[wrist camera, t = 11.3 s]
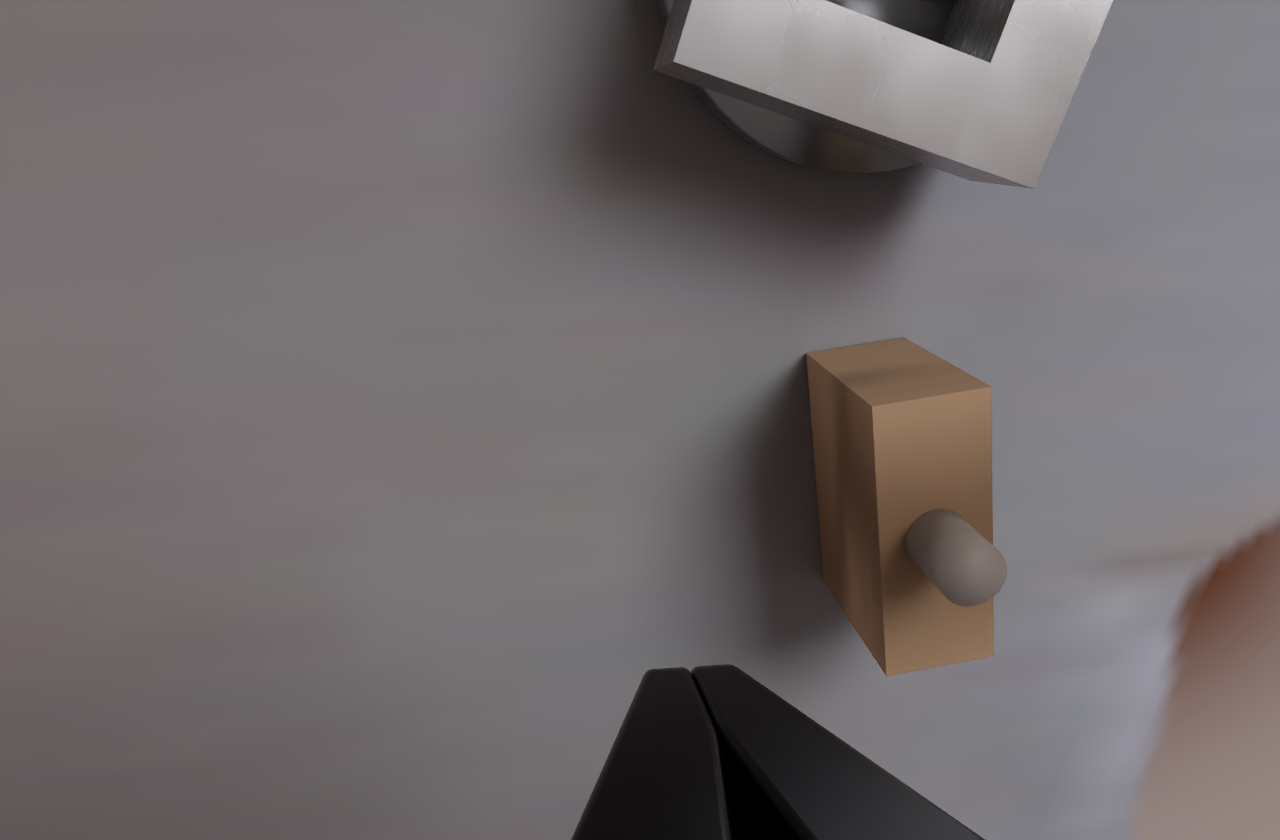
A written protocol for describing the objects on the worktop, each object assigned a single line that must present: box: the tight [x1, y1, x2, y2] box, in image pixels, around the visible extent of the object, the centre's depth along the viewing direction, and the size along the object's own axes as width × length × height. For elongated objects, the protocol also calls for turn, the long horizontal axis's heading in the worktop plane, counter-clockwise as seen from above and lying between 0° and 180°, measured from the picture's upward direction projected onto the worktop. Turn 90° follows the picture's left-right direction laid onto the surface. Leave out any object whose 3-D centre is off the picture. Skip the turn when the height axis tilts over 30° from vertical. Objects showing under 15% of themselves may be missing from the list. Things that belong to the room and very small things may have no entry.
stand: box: [806, 337, 1007, 676], centre depth 18 cm, size 6×2×6 cm, turn 7°
